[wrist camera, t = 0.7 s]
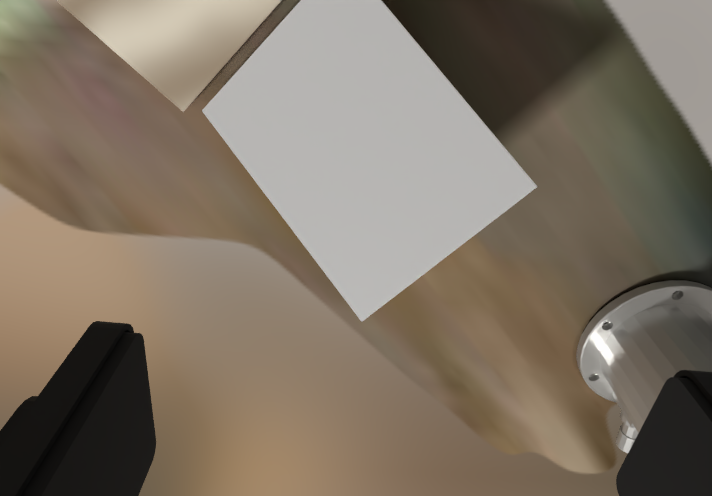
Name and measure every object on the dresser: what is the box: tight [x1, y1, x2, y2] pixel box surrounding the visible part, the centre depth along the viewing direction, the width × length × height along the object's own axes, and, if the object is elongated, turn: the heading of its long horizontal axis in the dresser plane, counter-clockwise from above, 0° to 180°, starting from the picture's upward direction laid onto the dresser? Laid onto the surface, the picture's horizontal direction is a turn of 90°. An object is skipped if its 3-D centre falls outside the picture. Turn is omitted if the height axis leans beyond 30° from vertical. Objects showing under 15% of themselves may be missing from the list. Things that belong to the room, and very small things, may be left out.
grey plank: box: [202, 0, 537, 321], centre depth 29 cm, size 16×12×2 cm
